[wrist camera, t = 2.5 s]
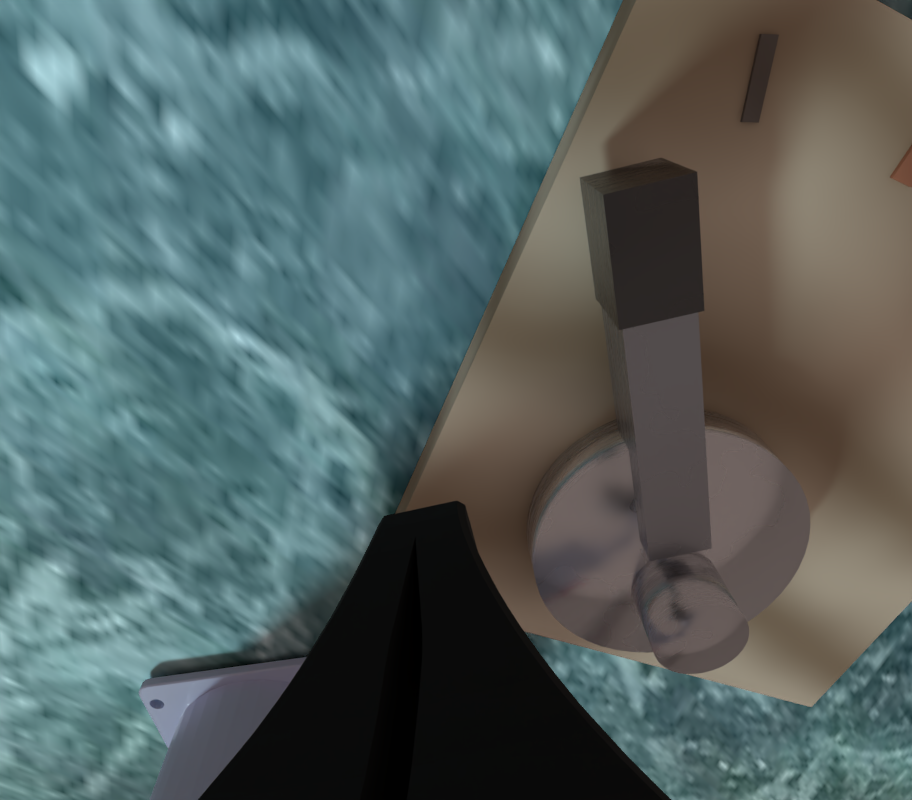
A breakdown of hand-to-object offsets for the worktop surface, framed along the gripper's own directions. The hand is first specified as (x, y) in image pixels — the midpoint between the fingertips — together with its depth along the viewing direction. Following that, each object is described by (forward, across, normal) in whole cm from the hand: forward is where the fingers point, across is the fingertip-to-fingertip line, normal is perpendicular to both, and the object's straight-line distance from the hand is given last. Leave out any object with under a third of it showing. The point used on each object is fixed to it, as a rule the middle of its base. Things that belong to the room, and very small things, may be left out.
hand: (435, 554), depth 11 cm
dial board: (+9, -9, +5) cm, 14 cm away
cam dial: (+8, -5, +3) cm, 10 cm away
